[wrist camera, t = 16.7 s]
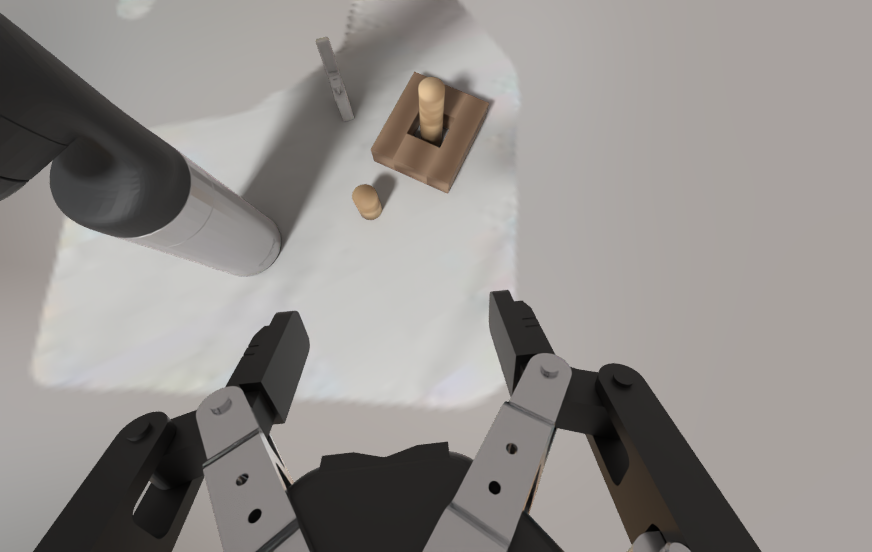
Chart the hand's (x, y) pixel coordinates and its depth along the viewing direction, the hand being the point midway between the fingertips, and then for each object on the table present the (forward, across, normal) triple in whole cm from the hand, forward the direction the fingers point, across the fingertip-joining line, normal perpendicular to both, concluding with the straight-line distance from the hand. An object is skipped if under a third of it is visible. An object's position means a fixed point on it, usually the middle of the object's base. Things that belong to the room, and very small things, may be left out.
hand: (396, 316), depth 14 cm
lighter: (+47, +9, -5) cm, 48 cm away
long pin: (+41, -4, +1) cm, 42 cm away
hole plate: (+41, -4, +1) cm, 42 cm away
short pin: (+34, +6, +8) cm, 35 cm away
